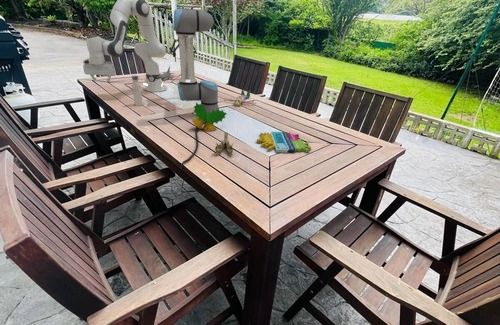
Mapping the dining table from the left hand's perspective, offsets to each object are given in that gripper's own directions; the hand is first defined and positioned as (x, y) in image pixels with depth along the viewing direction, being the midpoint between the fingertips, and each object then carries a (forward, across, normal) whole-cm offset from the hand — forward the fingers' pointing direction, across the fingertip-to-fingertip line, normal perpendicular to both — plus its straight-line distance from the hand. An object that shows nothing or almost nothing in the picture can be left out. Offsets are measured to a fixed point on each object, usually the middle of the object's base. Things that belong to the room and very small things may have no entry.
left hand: (101, 81), depth 188 cm
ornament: (+16, -80, +42) cm, 92 cm away
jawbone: (+16, -91, +73) cm, 118 cm away
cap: (-5, -24, 0) cm, 24 cm away
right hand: (-12, -54, -29) cm, 63 cm away
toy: (+16, -102, -20) cm, 105 cm away
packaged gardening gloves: (+16, -124, +60) cm, 139 cm away
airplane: (+16, -22, -88) cm, 92 cm away
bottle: (+16, -24, 0) cm, 29 cm away
